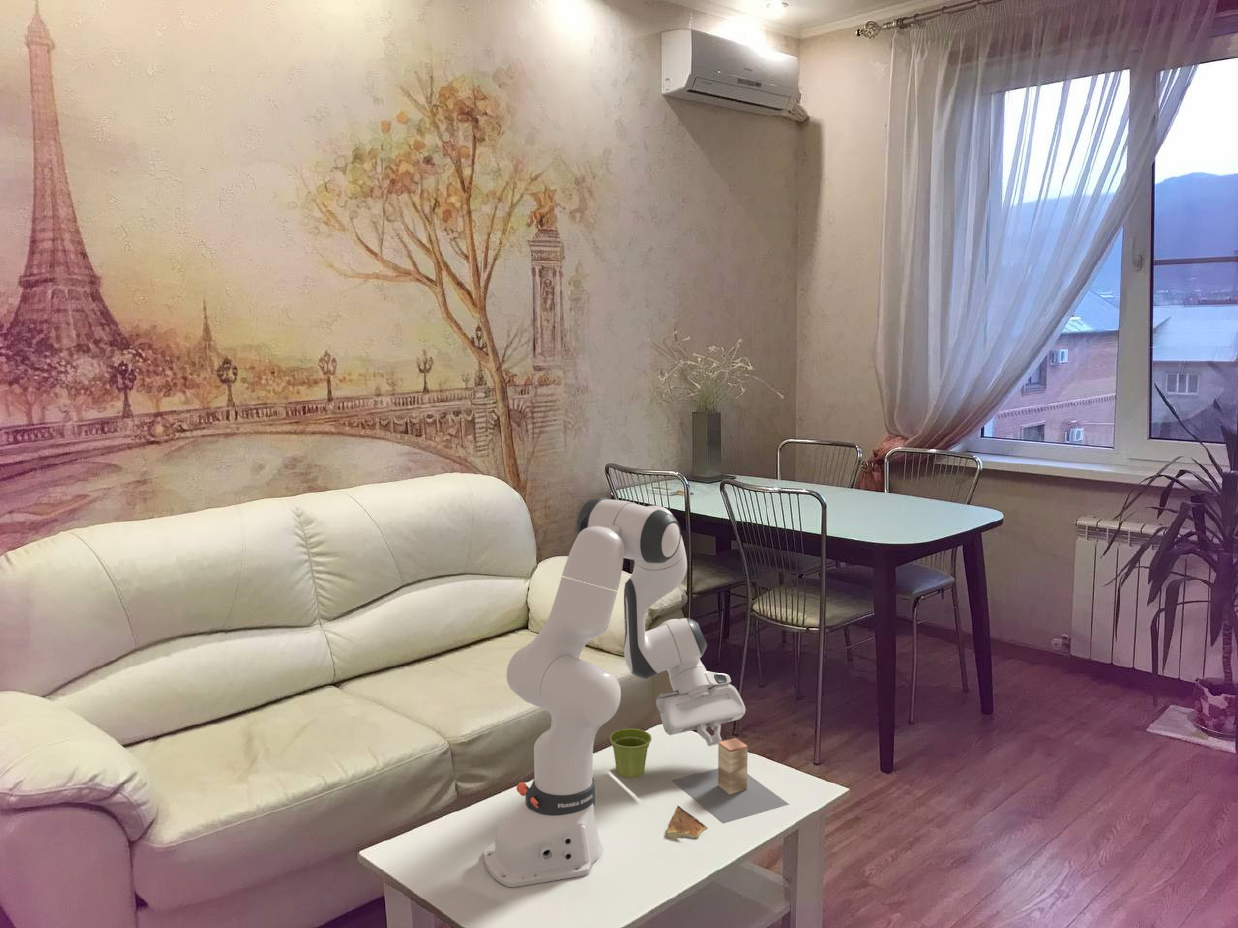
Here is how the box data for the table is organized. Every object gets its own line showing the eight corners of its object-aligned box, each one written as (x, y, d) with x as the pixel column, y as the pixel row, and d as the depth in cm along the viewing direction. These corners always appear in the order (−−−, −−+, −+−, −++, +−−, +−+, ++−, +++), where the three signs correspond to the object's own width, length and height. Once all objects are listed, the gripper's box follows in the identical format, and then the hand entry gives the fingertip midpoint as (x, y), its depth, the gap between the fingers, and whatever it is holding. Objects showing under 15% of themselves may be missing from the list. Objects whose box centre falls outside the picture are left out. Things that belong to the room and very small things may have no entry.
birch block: (729, 794, 202) (730, 750, 200) (718, 785, 205) (718, 741, 204) (746, 789, 204) (747, 745, 202) (735, 780, 208) (735, 737, 206)
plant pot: (659, 770, 214) (659, 734, 213) (637, 787, 206) (637, 750, 205) (624, 760, 219) (623, 725, 218) (601, 776, 211) (601, 740, 210)
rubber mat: (723, 825, 190) (722, 823, 190) (671, 782, 208) (671, 780, 208) (789, 806, 197) (789, 803, 197) (734, 766, 215) (734, 764, 215)
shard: (677, 811, 197) (677, 803, 196) (713, 817, 194) (713, 809, 194) (665, 838, 186) (665, 829, 186) (703, 844, 184) (703, 835, 184)
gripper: (658, 689, 210) (680, 748, 202) (734, 673, 219) (758, 729, 212) (648, 701, 214) (669, 759, 207) (724, 685, 223) (747, 740, 216)
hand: (715, 744), depth 209 cm, fingers closed
